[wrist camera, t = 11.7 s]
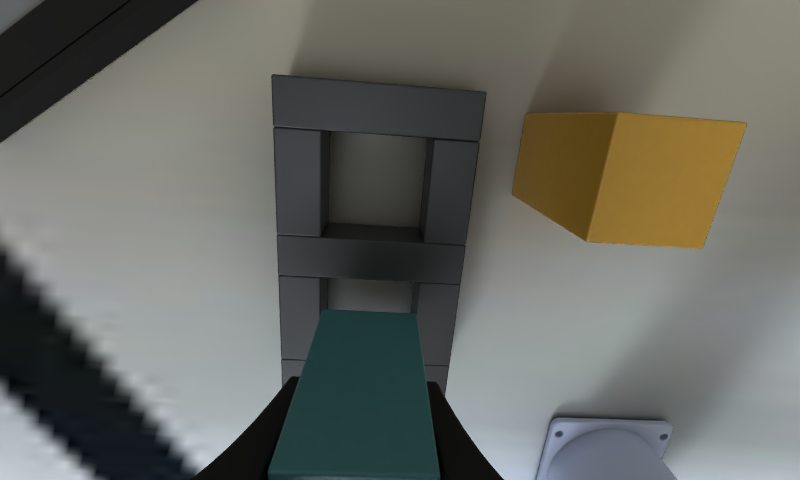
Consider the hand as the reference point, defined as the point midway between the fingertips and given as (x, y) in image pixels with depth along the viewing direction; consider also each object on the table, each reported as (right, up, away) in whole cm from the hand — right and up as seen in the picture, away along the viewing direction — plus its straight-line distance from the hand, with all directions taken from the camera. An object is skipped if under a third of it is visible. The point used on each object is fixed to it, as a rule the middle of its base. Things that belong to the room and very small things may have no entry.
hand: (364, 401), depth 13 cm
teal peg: (0, +1, +3) cm, 3 cm away
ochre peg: (+9, +10, +5) cm, 15 cm away
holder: (0, +6, +6) cm, 9 cm away
